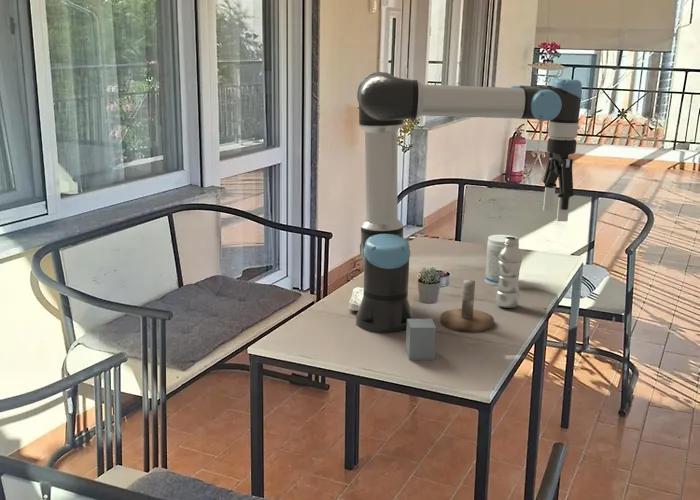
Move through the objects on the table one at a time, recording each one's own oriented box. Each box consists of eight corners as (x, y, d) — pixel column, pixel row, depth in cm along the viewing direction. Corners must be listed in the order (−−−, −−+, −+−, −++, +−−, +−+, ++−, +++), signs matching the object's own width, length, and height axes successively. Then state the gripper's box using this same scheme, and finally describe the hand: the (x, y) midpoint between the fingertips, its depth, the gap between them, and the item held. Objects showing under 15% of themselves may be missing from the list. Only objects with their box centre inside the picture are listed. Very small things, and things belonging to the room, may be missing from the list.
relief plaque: (389, 296, 232) (390, 286, 231) (386, 314, 217) (386, 303, 216) (353, 294, 233) (353, 284, 232) (347, 311, 218) (347, 300, 217)
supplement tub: (490, 277, 251) (493, 232, 248) (519, 282, 247) (523, 236, 244) (480, 285, 243) (483, 239, 239) (510, 290, 239) (514, 243, 235)
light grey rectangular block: (409, 359, 185) (410, 327, 183) (405, 350, 190) (406, 318, 188) (434, 359, 185) (436, 327, 183) (430, 349, 191) (431, 318, 189)
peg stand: (445, 332, 203) (447, 289, 200) (436, 313, 216) (438, 273, 213) (499, 331, 204) (502, 289, 201) (486, 313, 217) (489, 273, 214)
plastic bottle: (518, 311, 220) (524, 241, 215) (494, 309, 221) (499, 240, 216) (518, 304, 226) (524, 236, 221) (494, 302, 227) (499, 234, 222)
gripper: (591, 144, 199) (582, 226, 205) (562, 133, 224) (555, 206, 229) (561, 143, 199) (554, 225, 205) (536, 132, 223) (530, 206, 229)
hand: (554, 215), depth 217 cm, fingers open, 13 cm apart
